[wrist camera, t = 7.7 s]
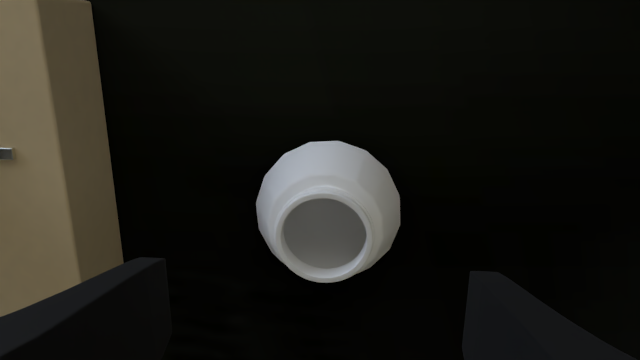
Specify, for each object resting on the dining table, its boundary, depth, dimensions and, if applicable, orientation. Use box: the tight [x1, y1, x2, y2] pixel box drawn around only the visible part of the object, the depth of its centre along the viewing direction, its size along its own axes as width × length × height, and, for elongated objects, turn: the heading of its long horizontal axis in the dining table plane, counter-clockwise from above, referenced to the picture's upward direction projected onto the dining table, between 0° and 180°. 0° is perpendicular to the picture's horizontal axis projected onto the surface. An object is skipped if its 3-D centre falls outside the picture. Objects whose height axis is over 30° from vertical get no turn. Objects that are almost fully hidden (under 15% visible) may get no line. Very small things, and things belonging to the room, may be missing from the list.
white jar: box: [256, 141, 400, 283], centre depth 16 cm, size 5×3×5 cm
